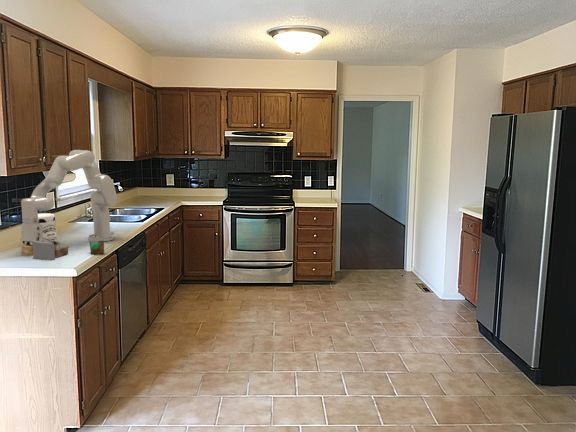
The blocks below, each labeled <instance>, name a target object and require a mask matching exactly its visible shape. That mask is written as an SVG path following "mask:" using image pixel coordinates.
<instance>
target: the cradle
mask: <svg viewBox="0 0 576 432" xmlns="http://www.w3.org/2000/svg"><path fill="white" fill-rule="evenodd" d="M54 251H55V258H60V257H62V256H66V255H69V246H64V247H61V248H58V247H57V245H54Z"/></svg>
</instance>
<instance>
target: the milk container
mask: <svg viewBox="0 0 576 432" xmlns="http://www.w3.org/2000/svg"><path fill="white" fill-rule="evenodd" d="M38 220H39V222H38V223H40V226H41V231H42V239H43V242H51V243H54V244H56V243H57V242H58V238H59V233H58V232H57V231H58V230H57V228H56V216H55V214H54V213H49V212H48V213H47V212H45V213H44V212H43V213H42V212H41V213H38ZM31 244H32V242H30V245H31Z"/></svg>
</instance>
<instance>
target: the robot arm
mask: <svg viewBox="0 0 576 432" xmlns="http://www.w3.org/2000/svg"><path fill="white" fill-rule="evenodd" d="M95 157H96V156H95V154H94V152H92V151H91V150H87V149H86V150H84V149H83V150H82V149H73V150H71V151H69V153H68V155H59V156H57V157H55V159H54V161H53V163H52V165H51V167H50V169H49V172H48V173H47V175H46V177H45V178H44V179H43V180H42V181H40V183H39V184H38V185H37V186H36V187H35V188H34V189H33V191H32V193H31V196H30V198H29V197H28V198H23V199H21V201H20V205H21V218H22V219H21V220H22V223H21V238H20V241H21V242H22V244H23V246H27V245H30V242H34V241H39V242H43V239H42V231H41V226H40V223H38V222H39V220H38V214H39V212H40V211H44V212H46V211H49V210H51V209H53V207H54V201H53V200H52V198H49V197H48V196H47V195H48V194H49V192H50V191H52V190H54V189H55V188H58V187H60V186H61V185H62V184H63V181H64V180H65V177H66V175H67V173H68V171H69V172H73V171H74V172H75V171H78V170H81V169H82V170H83V172H84V175H85V178H86V181H87V185H88V187H89V188H90V189H92V190H95V191H93V192H92V193H91V195H90V203H91V206H92V219H93V220H92V221H93V234H96V236H100V237H104V242H110V241H113V240H114V237H113V235H115V232H114V231H111V223H110V221H111V220H110V210H109V207H114V206H115V205H117V202H118V195H117V191H116V187H115V184H114V182H113V180H112V178H111V177H110V176H109V175H108V174H102V173H101V171H100V169H99V166H98V164H97V162H96V161H95ZM46 196H47V197H46Z"/></svg>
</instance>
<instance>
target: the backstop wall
mask: <svg viewBox="0 0 576 432" xmlns="http://www.w3.org/2000/svg"><path fill="white" fill-rule="evenodd" d="M32 244H33V255H32V256H33V259H34V260H44V259H45V261H54V260H56V257H55V251H54V246H55V243H51V242H39V241H34V242H32Z"/></svg>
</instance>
